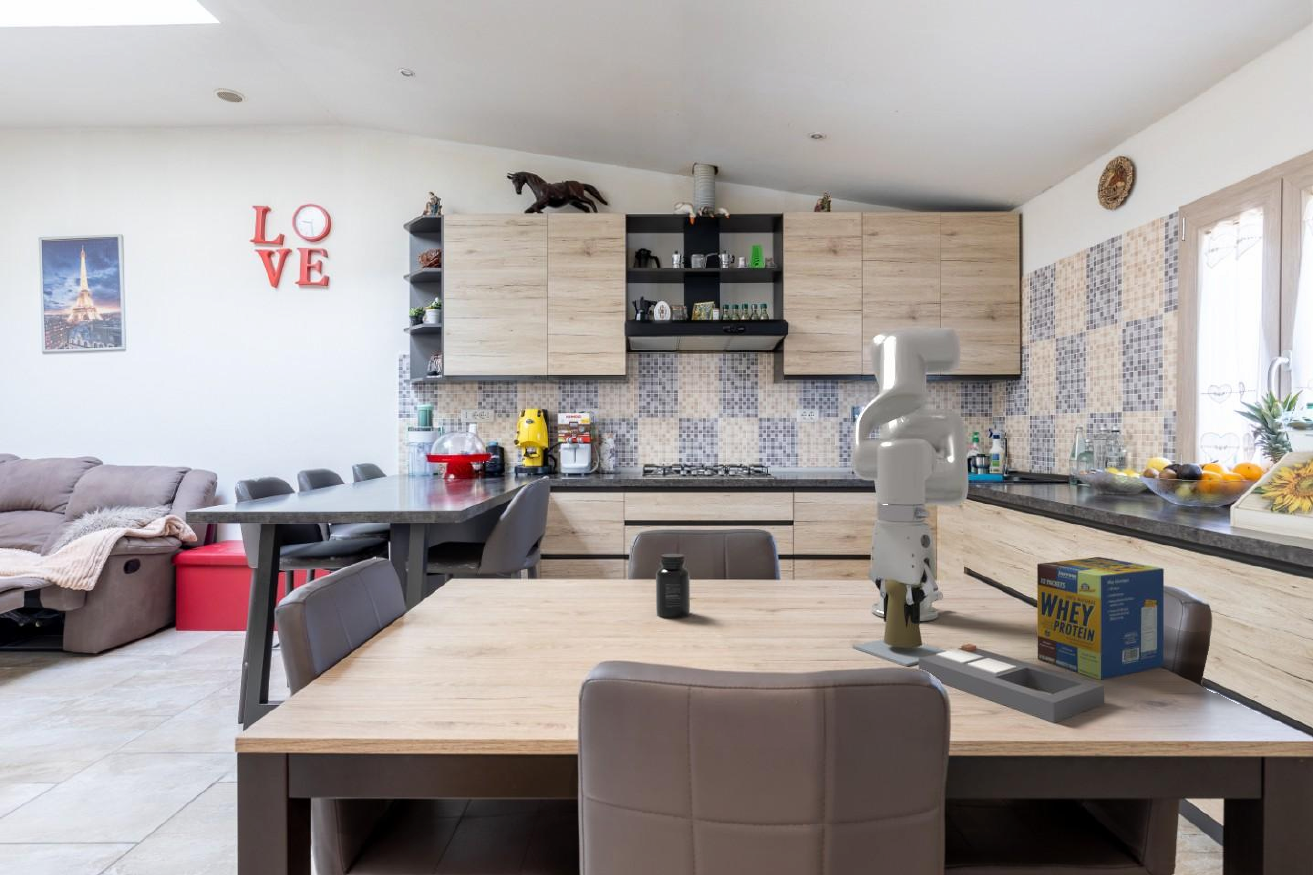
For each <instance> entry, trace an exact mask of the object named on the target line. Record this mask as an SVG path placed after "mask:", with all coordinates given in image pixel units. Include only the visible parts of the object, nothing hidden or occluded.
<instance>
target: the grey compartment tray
mask: <svg viewBox="0 0 1313 875" xmlns="http://www.w3.org/2000/svg"><path fill="white" fill-rule="evenodd" d="M945 651H946V652H942V653H938V654H934V655H930V656H926V657H922V658H919V664H918V670H919V669H922V670H925V671H927V672H929V673H931V674H932V675H933V676H935V677H936V678H937V679H939V680H940V681H941V683H940V684H943V685H945V686H949V687H951V688H953V689H958V690H960V691H962V692H965V693H969V694H970V695H974V696H977V697H979V698H982V699H984V700H988V701H992V702H993V703H996V704H999V705H1002V704H1003V705H1002V706H1005V705H1006V706H1005V707H1007V706H1009V707H1008V708H1010V707H1012V708H1011V709H1013V708H1014V709H1013V710H1016V709H1017V710H1016V711H1019V710H1020V711H1019V712H1022V711H1023V712H1022V713H1024V712H1025V713H1024V714H1027V713H1028V715H1030V714H1032V715H1031V716H1033V715H1034V716H1033V717H1036V716H1037V717H1036V718H1038V717H1040V718H1039V719H1041V718H1043V719H1042V720H1044V719H1045V720H1044V721H1047V722H1050V723H1052V724H1053V723H1057V722H1061V721H1062V720H1065V719H1068V718H1070V717H1073V716H1075V715H1078V714H1081V713H1083V712H1086V711H1088V710H1091V709H1094V708H1097V707H1100V706H1103V705H1104V704H1105V684H1103V683H1099V682H1097V681H1093V680H1092V681H1091V680H1089V679H1085V678H1082V677H1078V676H1075V675H1072V674H1067V673H1064V672H1062V671H1058V670H1054V669H1050V668H1048V667H1044V666H1040V665H1037V664H1033V663H1029V662H1027V661H1023V660H1019V659H1016V658H1013V657H1010V656H1006V655H1002V654H998V653H995V652H991V651H990V650H989V651H988V650H985V649H981V648H978V647H977V645H975V644H973V643H972V644H971V643H967V644H964V645H961V647H960V648H955V649H951V650H945ZM1028 685H1029V686H1028ZM1026 686H1028V687H1030V688H1028V687H1026ZM1031 687H1032V688H1035V689H1032V688H1031ZM1036 689H1038V690H1036ZM1039 690H1041V691H1039ZM1043 691H1044V692H1046V693H1044V692H1043ZM1047 693H1051V694H1047Z"/></svg>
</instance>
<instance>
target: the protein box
mask: <svg viewBox="0 0 1313 875" xmlns="http://www.w3.org/2000/svg"><path fill="white" fill-rule="evenodd" d="M1036 566H1037V567H1036V569H1037V570H1036V572H1037V573H1036V574H1037V576H1036V579H1037V582H1036V584H1037V585H1036V588H1037V591H1036V592H1037V595H1036V596H1037V597H1036V598H1037V599H1036V600H1037V604H1036V605H1037V606H1036V607H1037V608H1036V609H1037V611H1036V612H1037V613H1036V614H1037V616H1036V617H1037V620H1036V622H1037V625H1036V626H1037V627H1036V628H1037V660H1039V661H1042V662H1045V663H1048V662H1049V663H1048V664H1051V663H1052V664H1051V665H1054V664H1055V666H1057V667H1060V668H1064V669H1067V670H1070V671H1073V672H1075V673H1078V674H1082V675H1085V676H1088V677H1091V678H1093V679H1096V680H1101V681H1102V680H1105V679H1110V678H1112V679H1113V678H1116V677H1121V676H1125V675H1130V674H1134V673H1139V672H1140V673H1141V672H1144V671H1149V670H1153V669H1158V668H1162V667H1164V633H1165V632H1164V624H1165V622H1164V618H1165V617H1164V615H1165V614H1164V611H1165V610H1164V601H1165V600H1164V598H1165V596H1164V593H1165V592H1164V587H1165V586H1164V584H1165V583H1164V582H1165V580H1164V578H1165V577H1164V575H1165V569H1164V568H1162V567H1157V566H1152V565H1148V564H1147V565H1146V564H1141V563H1134V562H1129V561H1124V560H1117V559H1112V558H1107V557H1101V556H1095V557H1087V558H1079V559H1070V560H1060V561H1052V562H1044V563H1043V562H1041V563H1037V565H1036Z"/></svg>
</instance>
